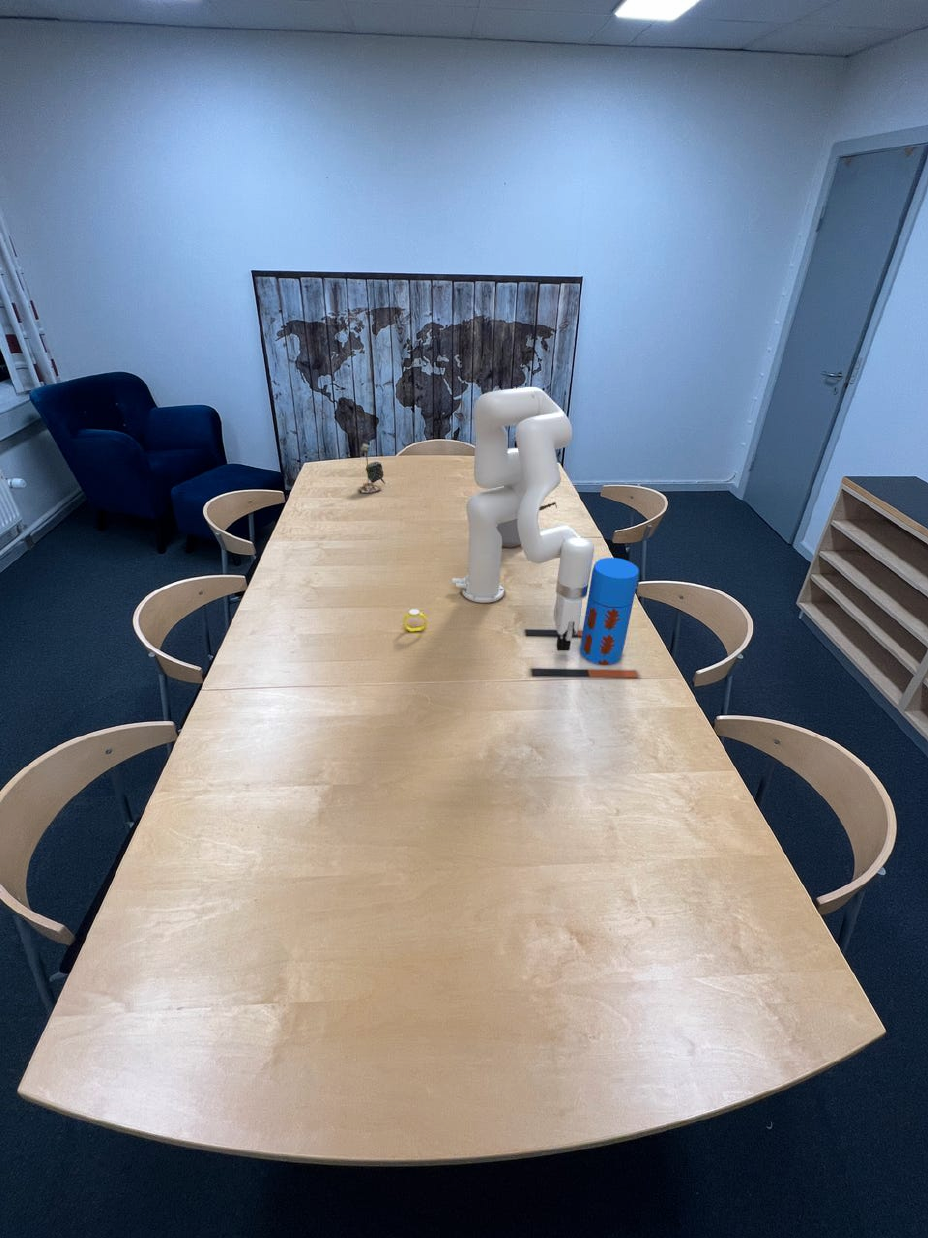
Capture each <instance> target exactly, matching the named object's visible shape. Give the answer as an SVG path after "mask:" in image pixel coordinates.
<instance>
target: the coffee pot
mask: <svg viewBox="0 0 928 1238" xmlns="http://www.w3.org/2000/svg"><path fill="white" fill-rule="evenodd" d="M551 506H555V507H556V509H557V508H558V506H557V502H556V501H553V502H551V503H547V504H544V505H541V506H540V509H539V512H540V511H543V510H545V509H547V508H550V507H551ZM517 519H518V518H517ZM517 519H514V520H511V521H507V522H503V523H500V524H498V525H497V526H496V528H497V530H498V531H499V533H500V534H501V537H502V548H507V549H511V548H513V549H514V548H517V547H519V546H521V542H520V537H519V533H518V527H517Z"/></svg>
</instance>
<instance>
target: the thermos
mask: <svg viewBox="0 0 928 1238" xmlns="http://www.w3.org/2000/svg"><path fill="white" fill-rule="evenodd" d="M592 567H593V568H592V570H591V576H590V582H589V588H588V589H589V590H588V594H587V595H588V596H587V600H586V601H587V602H586V608H585V614H584V622H583V626H582V631H583V632H582V637H581V640H580V654H581V655H582V657H583V658H584V659H585V660H587V661H588V662H590V663H593V664H595V665H602V666H610V665H613V664H616V663H618V662H619V661H620V660H621V657H622V655H623V652H624V647H625V643H626V639H627V633H628V629H629V624H630V620H631V616H632V615H631V614H632V611H633V605H634V600H635V595H636V591H637V587H638V582H639V573H640V570H639V568H638V566H637V565H636V564H635V563H633V562H631V561H629V560H626V559H623V558H617V557H604V558H601V559H598V560H597V561H595V563H594V565H593V566H592Z"/></svg>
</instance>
